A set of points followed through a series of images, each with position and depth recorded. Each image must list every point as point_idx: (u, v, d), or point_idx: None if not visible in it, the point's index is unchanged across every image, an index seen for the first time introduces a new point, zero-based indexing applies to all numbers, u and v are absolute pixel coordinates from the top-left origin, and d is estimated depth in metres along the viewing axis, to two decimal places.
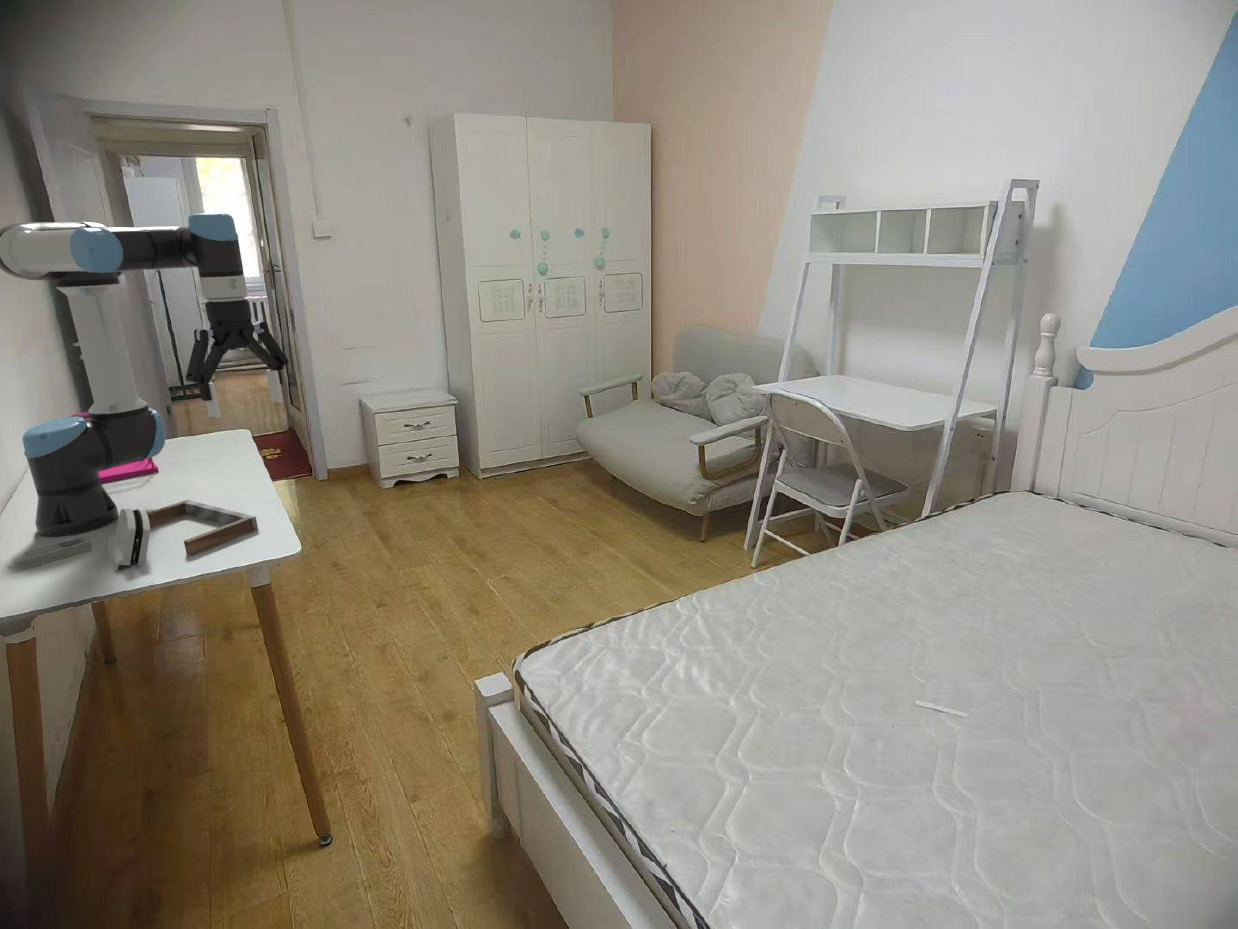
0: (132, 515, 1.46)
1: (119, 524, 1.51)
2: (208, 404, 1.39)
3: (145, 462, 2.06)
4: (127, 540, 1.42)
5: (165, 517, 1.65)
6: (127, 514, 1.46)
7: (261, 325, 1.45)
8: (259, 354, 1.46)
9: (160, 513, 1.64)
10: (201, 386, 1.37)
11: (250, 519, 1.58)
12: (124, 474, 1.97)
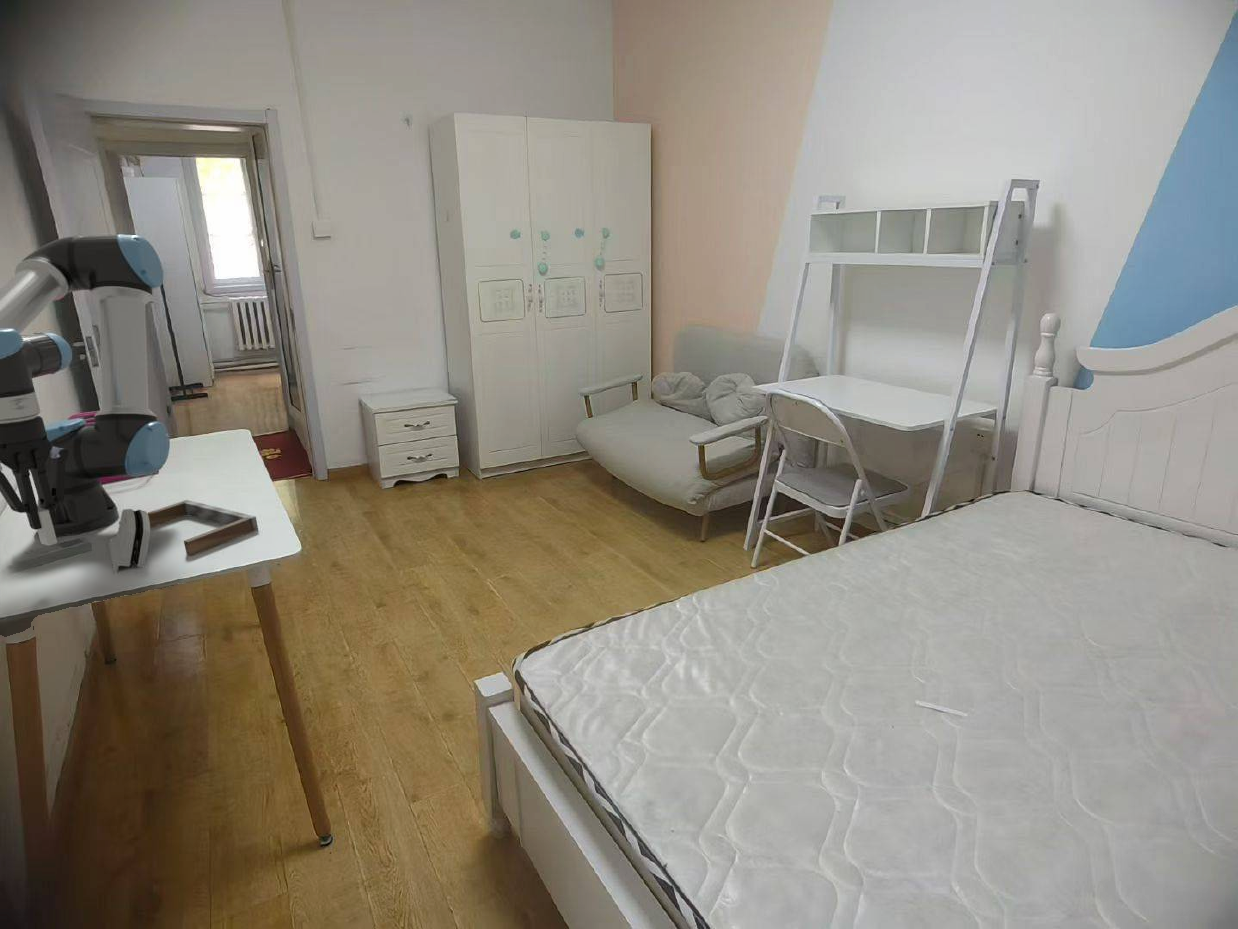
0: (133, 516, 1.45)
1: (121, 524, 1.51)
2: (39, 532, 1.35)
3: None
4: (127, 541, 1.41)
5: (165, 517, 1.65)
6: (128, 515, 1.45)
7: (61, 451, 1.35)
8: (38, 483, 1.33)
9: (160, 513, 1.64)
10: (29, 515, 1.32)
11: (250, 519, 1.58)
12: None
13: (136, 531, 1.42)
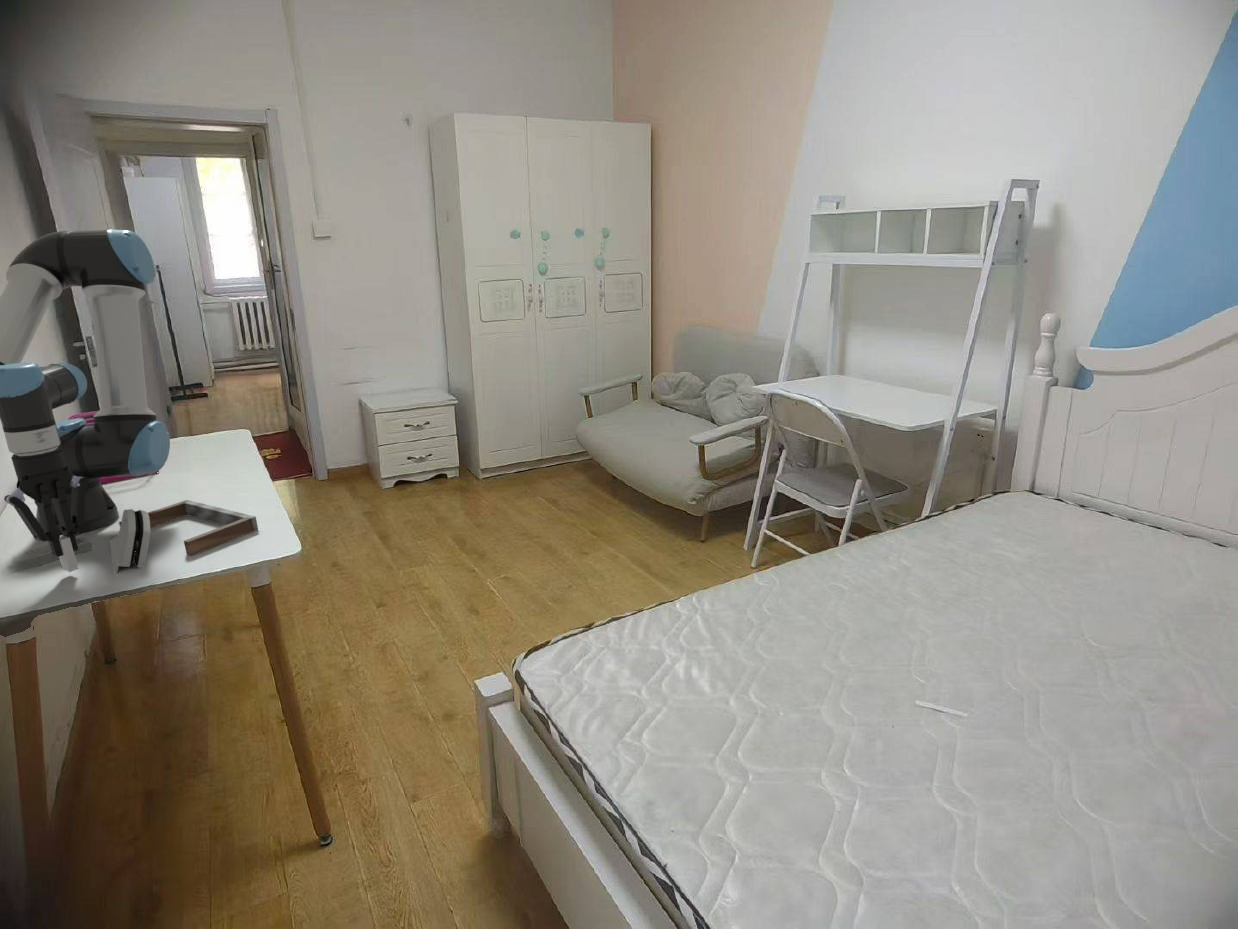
0: (133, 516, 1.45)
1: (122, 525, 1.51)
2: (61, 559, 1.39)
3: None
4: (127, 541, 1.41)
5: (165, 517, 1.65)
6: (128, 515, 1.45)
7: (81, 480, 1.38)
8: (59, 511, 1.36)
9: (160, 513, 1.64)
10: (51, 543, 1.36)
11: (250, 519, 1.58)
12: None
13: (136, 531, 1.42)
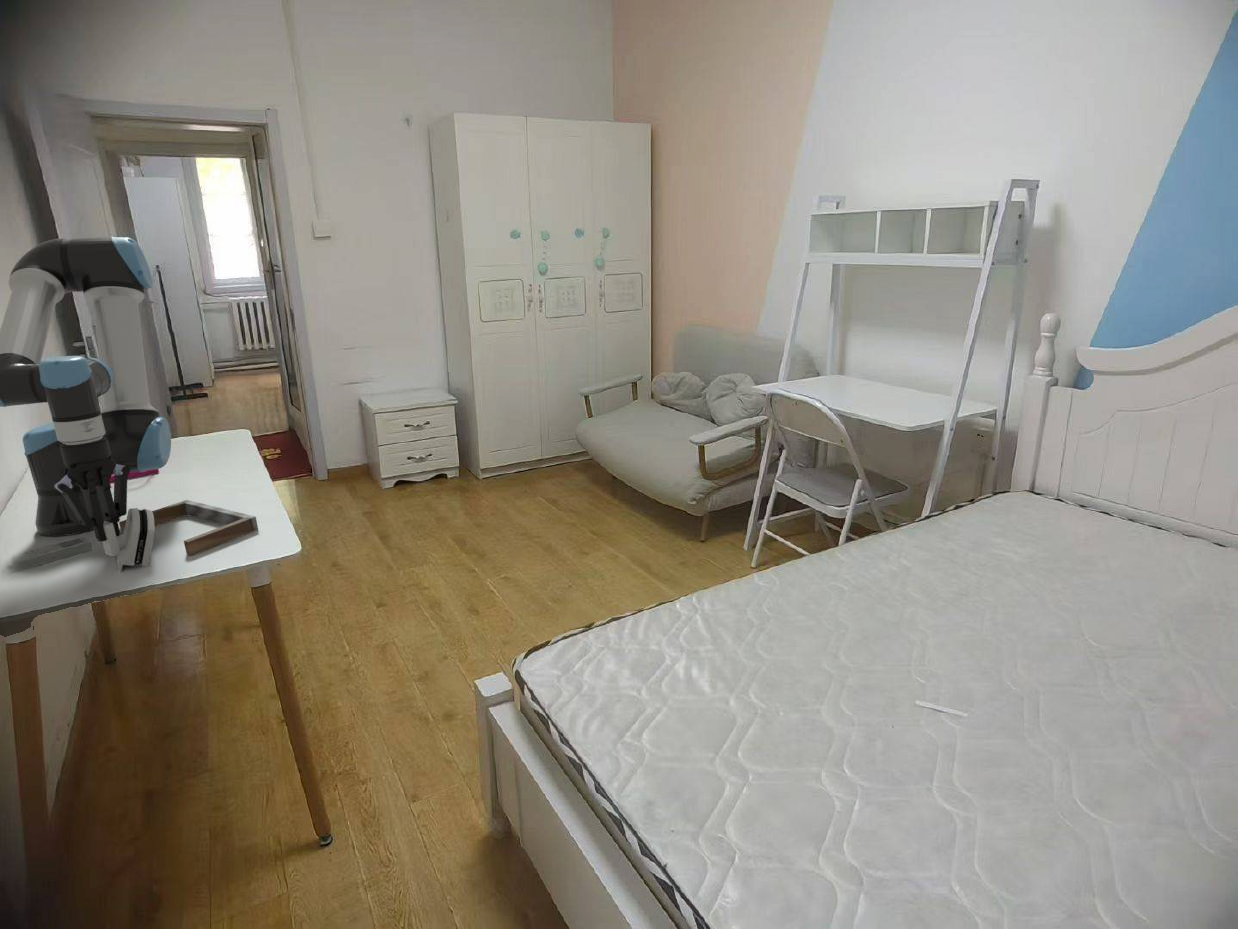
0: (138, 515, 1.45)
1: (126, 523, 1.51)
2: (104, 543, 1.45)
3: None
4: (131, 540, 1.41)
5: (165, 517, 1.65)
6: (133, 514, 1.46)
7: (123, 468, 1.45)
8: (103, 498, 1.43)
9: (160, 513, 1.64)
10: (95, 528, 1.42)
11: (250, 519, 1.58)
12: None
13: (140, 530, 1.42)
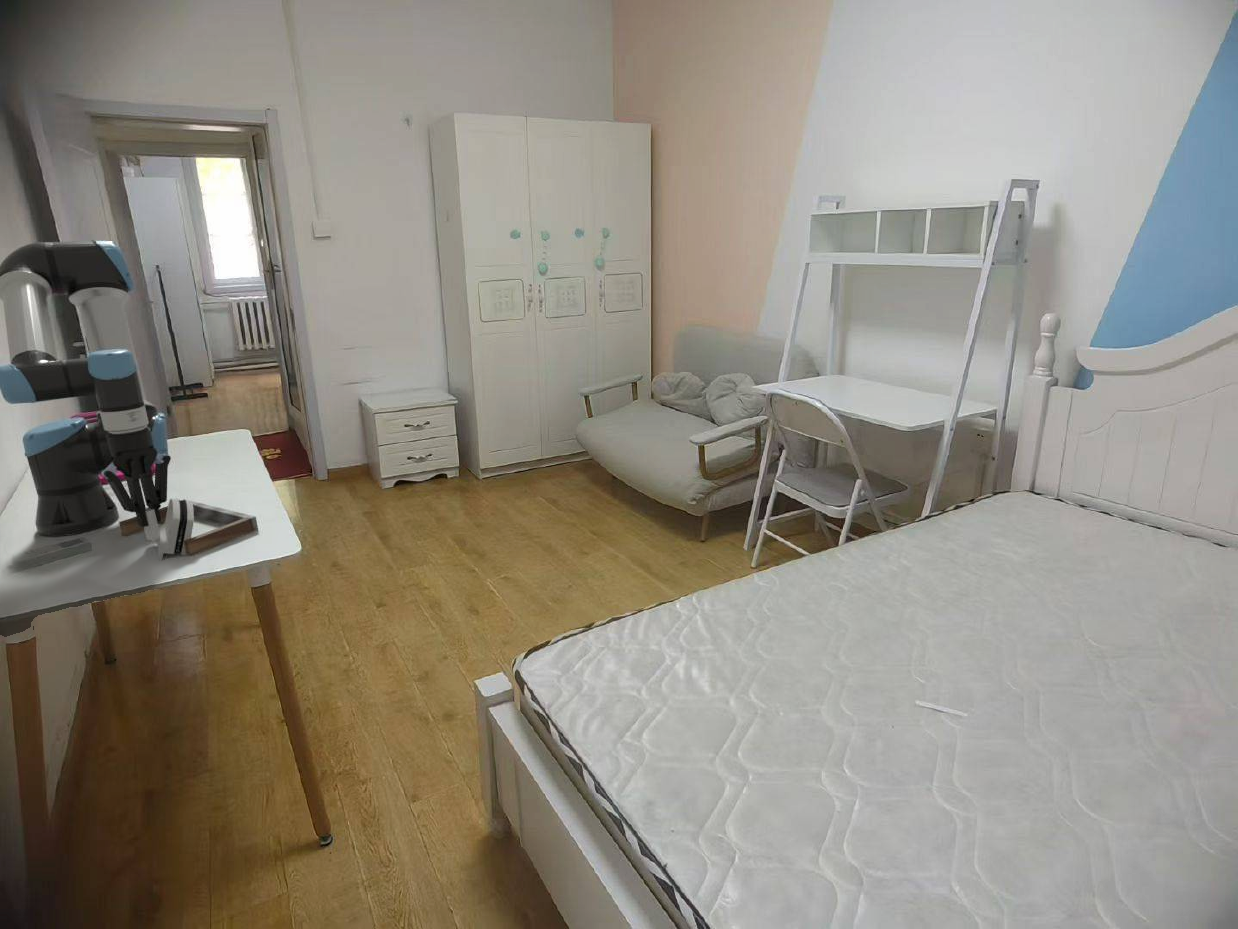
0: (178, 505, 1.50)
1: (167, 513, 1.56)
2: (146, 529, 1.52)
3: None
4: (172, 529, 1.46)
5: (165, 517, 1.65)
6: (173, 504, 1.50)
7: (164, 457, 1.51)
8: (145, 485, 1.49)
9: (160, 513, 1.64)
10: (138, 514, 1.49)
11: (250, 519, 1.58)
12: None
13: (180, 520, 1.47)
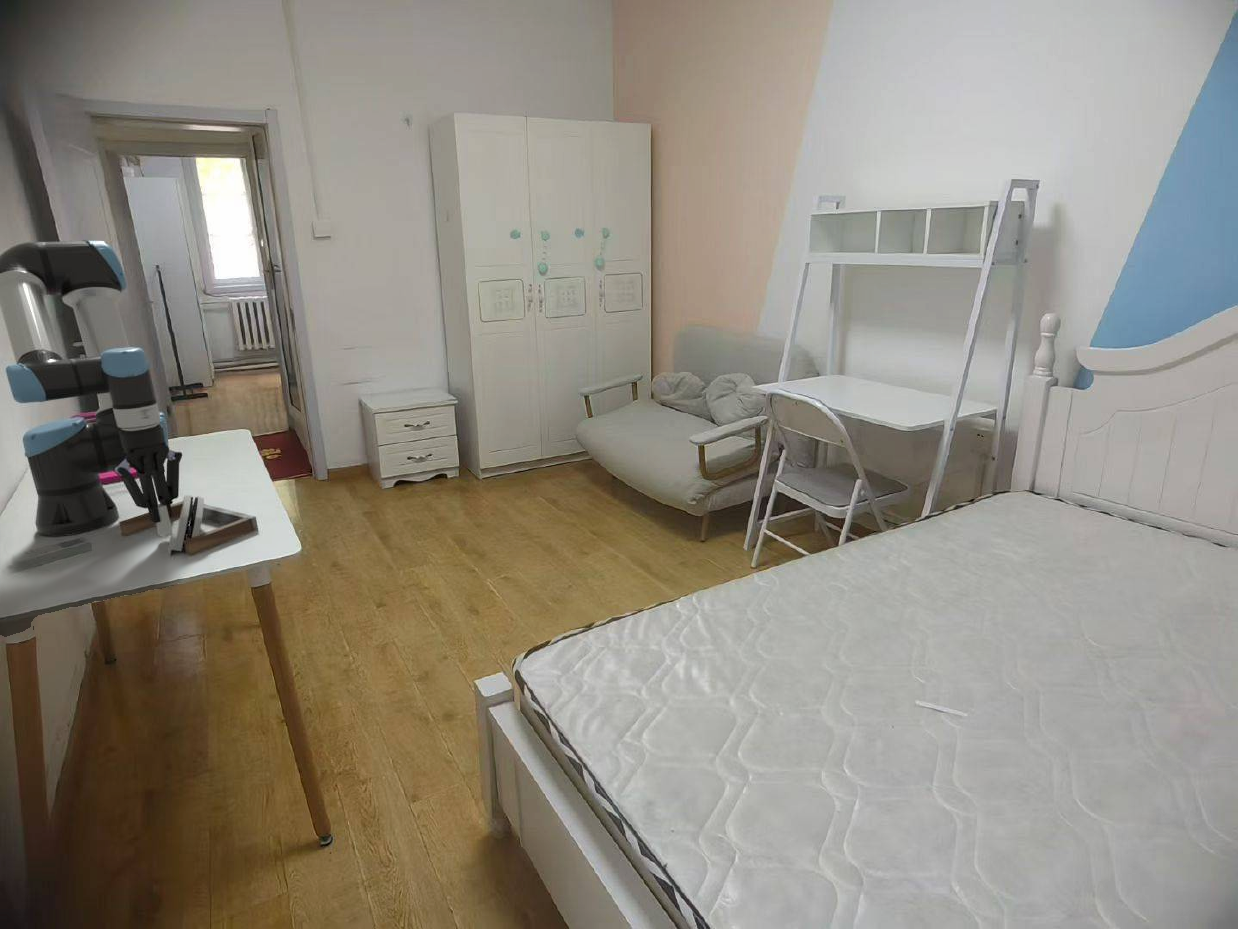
0: (189, 502, 1.52)
1: None
2: (158, 525, 1.54)
3: None
4: (180, 527, 1.47)
5: None
6: (184, 501, 1.52)
7: (176, 454, 1.53)
8: (157, 482, 1.51)
9: None
10: (150, 510, 1.51)
11: (250, 519, 1.58)
12: None
13: (189, 518, 1.48)
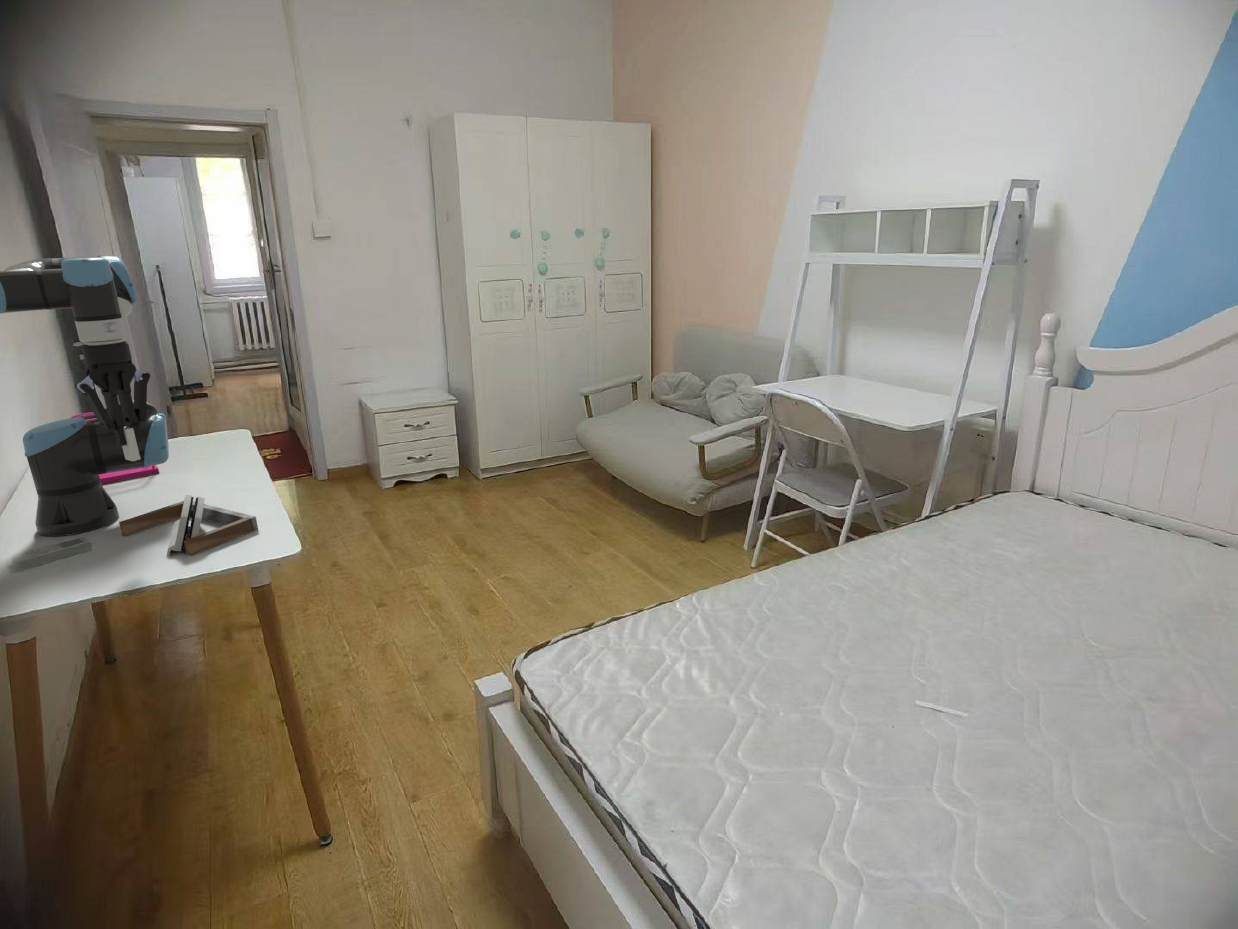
0: (188, 503, 1.52)
1: None
2: (124, 449, 1.47)
3: None
4: (179, 527, 1.47)
5: (165, 517, 1.65)
6: (184, 501, 1.52)
7: (143, 374, 1.46)
8: (124, 402, 1.44)
9: (160, 513, 1.64)
10: (116, 432, 1.44)
11: (250, 519, 1.58)
12: (124, 475, 1.96)
13: (188, 518, 1.48)
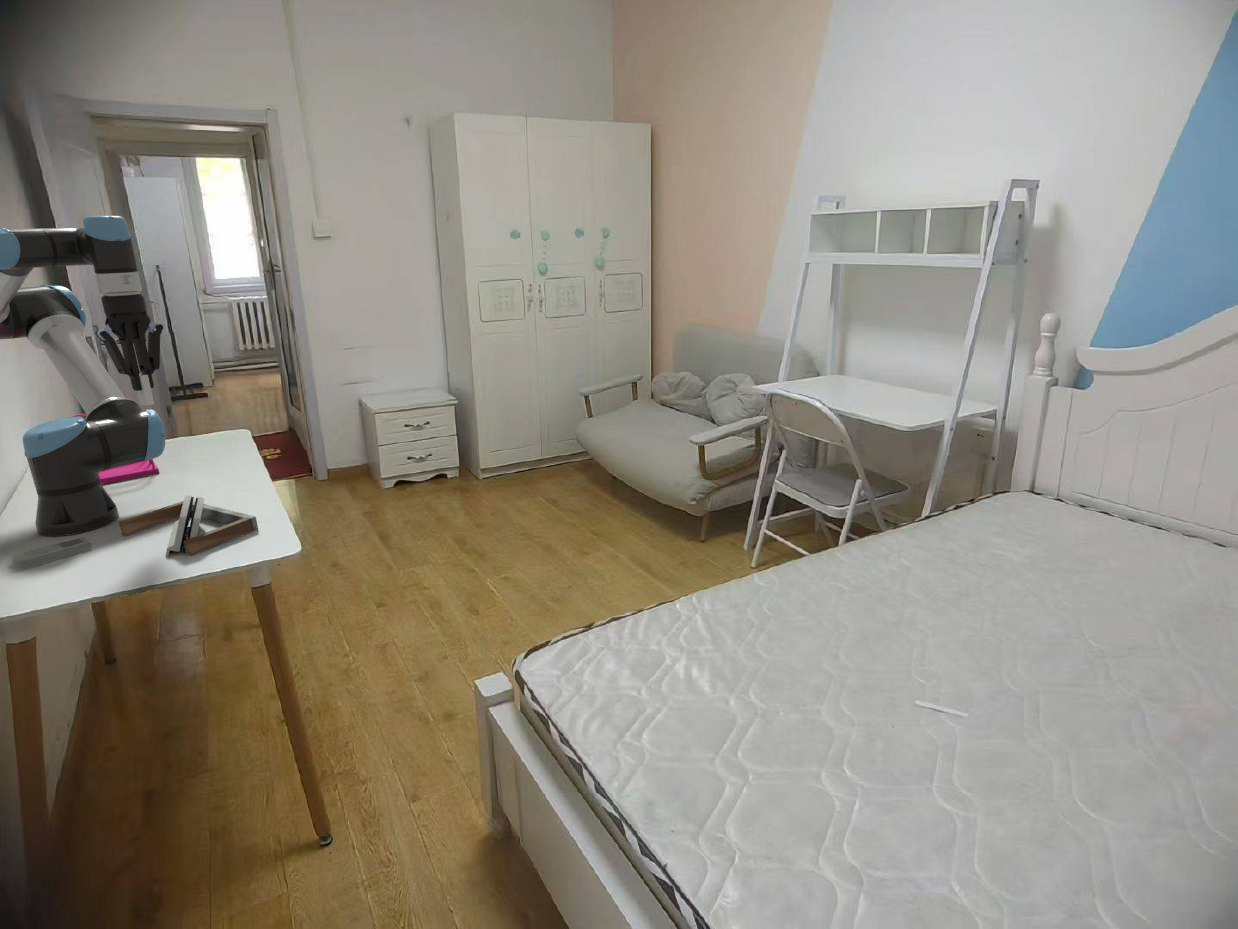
0: (188, 503, 1.51)
1: None
2: (139, 394, 1.60)
3: (146, 463, 2.05)
4: (178, 527, 1.47)
5: (165, 517, 1.65)
6: (184, 502, 1.52)
7: (157, 326, 1.59)
8: (139, 351, 1.57)
9: (160, 513, 1.64)
10: (132, 378, 1.57)
11: (250, 519, 1.58)
12: (124, 475, 1.96)
13: (187, 518, 1.48)
